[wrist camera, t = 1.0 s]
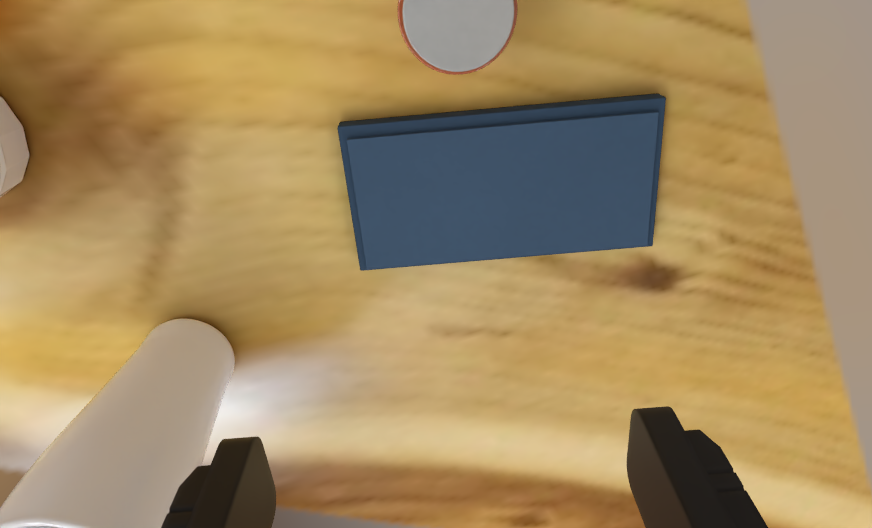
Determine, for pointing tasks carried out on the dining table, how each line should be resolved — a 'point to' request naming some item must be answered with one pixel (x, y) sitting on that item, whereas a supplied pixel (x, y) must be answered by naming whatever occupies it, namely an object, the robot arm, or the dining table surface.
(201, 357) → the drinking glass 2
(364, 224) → the blue flat rectangular block
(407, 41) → the pill bottle
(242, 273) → the dining table surface
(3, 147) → the white cup
